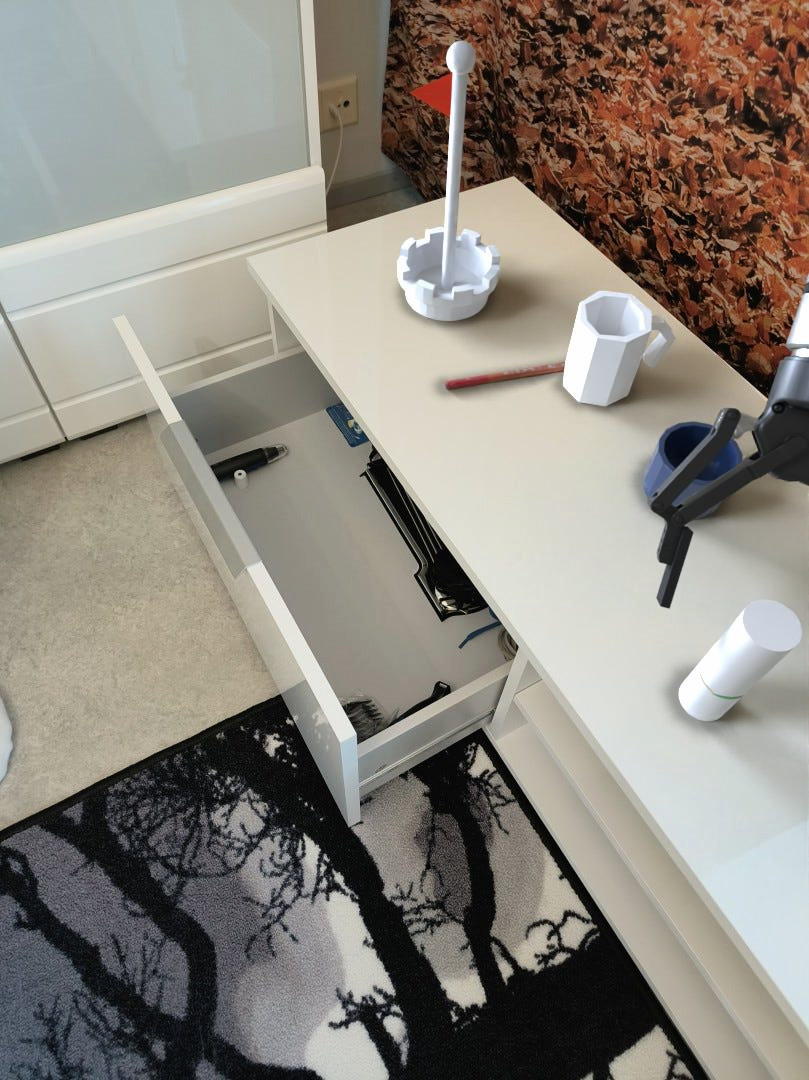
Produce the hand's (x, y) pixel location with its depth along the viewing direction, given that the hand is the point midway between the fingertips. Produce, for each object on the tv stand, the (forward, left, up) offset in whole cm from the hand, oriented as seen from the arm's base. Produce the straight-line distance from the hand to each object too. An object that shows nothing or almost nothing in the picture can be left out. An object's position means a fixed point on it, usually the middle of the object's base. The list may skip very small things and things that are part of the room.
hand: (747, 625), depth 60 cm
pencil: (+34, -23, -11) cm, 42 cm away
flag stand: (+50, -30, -10) cm, 59 cm away
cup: (+11, -19, -10) cm, 24 cm away
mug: (+25, -29, -10) cm, 40 cm away
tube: (-1, +2, -10) cm, 11 cm away
